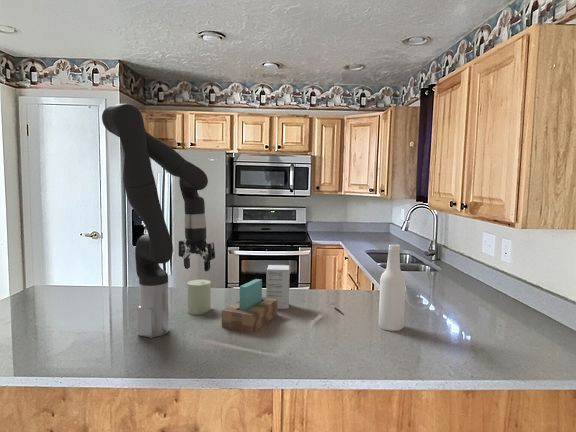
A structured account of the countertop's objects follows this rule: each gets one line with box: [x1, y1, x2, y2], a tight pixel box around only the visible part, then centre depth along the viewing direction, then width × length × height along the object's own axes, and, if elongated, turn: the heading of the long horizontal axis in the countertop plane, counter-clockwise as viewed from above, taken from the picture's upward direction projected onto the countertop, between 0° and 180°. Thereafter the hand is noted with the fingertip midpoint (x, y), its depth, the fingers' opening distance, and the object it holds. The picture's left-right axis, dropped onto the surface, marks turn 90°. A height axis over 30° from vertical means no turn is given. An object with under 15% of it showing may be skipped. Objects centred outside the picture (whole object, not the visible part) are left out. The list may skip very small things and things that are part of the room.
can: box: [186, 279, 212, 316], centre depth 158 cm, size 9×9×12 cm
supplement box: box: [265, 264, 291, 310], centre depth 163 cm, size 10×9×17 cm
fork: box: [325, 299, 345, 316], centre depth 163 cm, size 3×16×2 cm, turn 16°
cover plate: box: [239, 278, 263, 311], centre depth 145 cm, size 12×2×14 cm, turn 156°
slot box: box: [221, 296, 279, 334], centre depth 145 cm, size 20×12×7 cm, turn 156°
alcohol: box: [378, 243, 407, 332], centre depth 143 cm, size 9×9×30 cm
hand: (197, 269), depth 145 cm, fingers open, 8 cm apart
